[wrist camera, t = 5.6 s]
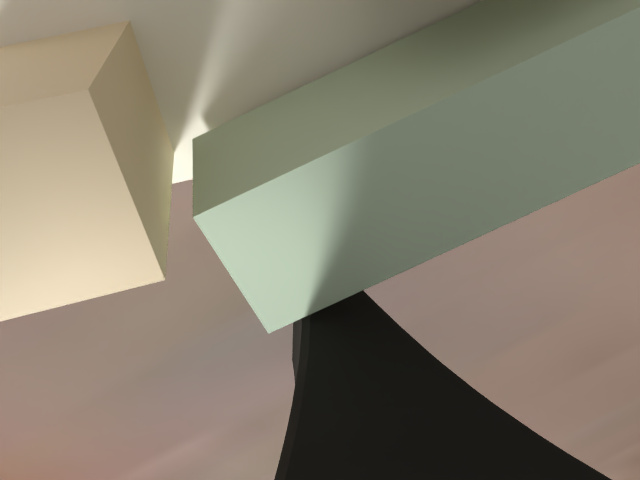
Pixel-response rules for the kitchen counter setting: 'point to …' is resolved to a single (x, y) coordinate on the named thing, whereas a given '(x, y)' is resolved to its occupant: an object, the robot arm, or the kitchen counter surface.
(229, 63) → the stool seat
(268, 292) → the hinged leg
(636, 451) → the kitchen counter surface
